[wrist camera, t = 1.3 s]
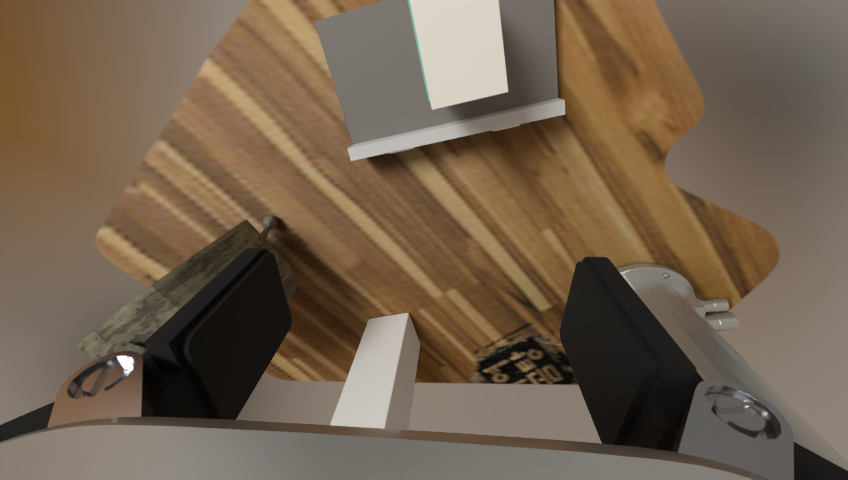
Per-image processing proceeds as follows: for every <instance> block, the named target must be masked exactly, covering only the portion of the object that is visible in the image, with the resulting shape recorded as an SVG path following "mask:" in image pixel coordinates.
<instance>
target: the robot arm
mask: <svg viewBox="0 0 848 480" xmlns="http://www.w3.org/2000/svg"><path fill="white" fill-rule="evenodd" d="M728 309H729V304H728V302H727V300H726V299H724V298H720V299H711V300H707V301H702V300H700V299H697V298H696V297H695V294H694V291H693V288H692V286H691V285H690V283H689V282H688V281H687V280H686V279H685V278H684V277H683V276H682V275H681V274H680V273H678V272H677V271H675V270H674V269H672V268H669V267H666V266H664V265H658V264H649V263H641V264H633V265H628V266H625V267H621V268H618V269H616V267H615V266H614V265H613V264H612V262H611V261H610V260H609V259H608V258H606V257H585V258H584V259H583V261H582V262H580V261H579V262H578V263H577V265H576V268H575V272H574V276H573V280H572V284H571V288H570V292H569V296H568V300H567V304H566V308H565V312H564V316H563V320H562V324H561V328H560V338H561V342H562V344H563V347H564V349H565V352H566V354H567V357H568V359H569V362H570V364H571V367H572V369H573V372H574V374H575V377H576V379H577V382H578V384H579V387H580V389H581V392H582V395H583V397H584V400H585V402H586V404H587V407H588V409H589V412H590V414H591V417H592V419H593V422H594V425H595V427H596V429H597V432H598V435H599V437H600V440H601V442H602V444H599V443H587V442H575V441H563V440H549V439H534V438H519V437H505V436H490V435H475V434H461V433H445V432H430V431H413V430H398V429H382V428H366V427H349V426H333V425H316V424H315V425H314V424H298V423H280V422H279V423H278V422H261V421H245V420H236V418H237V416H238V415H239V413H240V412H241V410H242V408H243V407H244V405H245V403H246V402H247V400H248V398H249V396H250V395H251V393H252V391H253V390H254V388H255V387H256V385H257V383H258V381H259V380H260V378H261V376H262V375H263V373H264V371H265V370H266V368H267V366H268V365H269V363H270V361H271V360H272V358H273V356H274V355H275V353H276V351H277V350H278V348H279V346H280V345H281V343H282V341H283V340H284V338H285V336H286V335H287V333H288V331H289V329H290V327H291V322H292V319H291V314H290V311H289V307H288V303H287V299H286V296H285V292H284V288H283V284H282V281H281V277H280V273H279V269H278V266H277V262H276V258H275V256H274V254H272V253H270V252H269V250H268V249H266V248H247V249H245V250H244V251H243V252H242V253H240V254H239V255H238V256H237V257H236V258H235V259H234V260H233V261H232V262H231V263H230V264H228V265H227V266H226V267H225V268H224V269H223V270H222V271H221V272H220V273H219V274H218V275H217V276H215V277H214V278H213V279H212V280H211V281H210V282H209V283H208V284H207V285H206V286H205V287H203V288H202V289H201V290H200V291H199V292H198V293H197V294H196V295H195V296H194V297H193V298H191V299H190V300H189V301H188V302H187V303H186V304H185V305H184V306H183V307H182V308H181V309H179V310H178V311H177V312H176V313H175V314H174V315H173V316H172V317H171V318H170V319H169V320H168V321H166V322H165V323H164V324H163V325H162V326H161V327H160V328H159V329H158V330H157V331H156V332H154V333H153V334H152V335H151V336H150V337H149V338H148V339H147V340H146V341H145V342H144V344H145V346H146V347H147V349H148V350H147V351H146V352H145V353H144V354H143V355H141V354H139V353H137V352H135V351H120V352H115V353H112V354H108V355H105V356H103V357H100V358H98V359H96V360H93V361H92V362H90V363H88V364H86V365H85V366H83V367H81V368H80V369H79V370H77V371H76V372H75V373H73V374H72V375H71V376H69V378H68V379H67V380H66V381H65V382H64V383H63V384H62V385H61V387H60V389H59V391H58V393H57V395H56V399H55V402H53V403H50V404H48V405H46V406H43V407H41V408H39V409H36V410H34V411H32V412H30V413H27V414H25V415H23V416H20V417H18V418H16V419H13V420H11V421H9V422H6V423H4V424H2V425H0V480H848V462H847V461H846V460H845V459H844V458H843V457H842V456H841V455H840V454H839V453H838V452H837V451H836V450H835V449H834V448H833V447H832V446H831V445H830V444H828V443H827V442H826V441H825V440H824V439H823V438H822V437H821V436H820V435H819V434H818V433H817V432H816V431H815V430H814V429H813V428H812V427H811V426H810V425H809V424H808V423H807V422H806V421H805V420H804V419H803V418H802V417H801V416H800V415H799V414H798V413H797V412H796V411H795V410H794V409H793V408H792V407H791V406H790V405H789V404H788V403H787V402H786V401H785V400H784V399H783V398H782V397H781V396H780V395H779V394H778V393H777V392H776V391H775V390H774V389H773V388H772V387H771V386H770V385H769V384H768V383H767V382H766V381H765V380H764V379H763V378H762V377H761V376H760V375H759V374H758V373H757V372H756V371H755V370H754V369H753V368H752V367H751V366H750V365H749V364H748V363H747V362H746V361H745V360H744V359H743V358H742V356H741V355H740V354H739V353H738V352H737V351H736V350H735V349H734V348H733V347H732V346H731V345H730V344H729V343H728V342H727V341H726V340H725V339H724V338H723V337H722V336H721V335H720V334H719V333H718V332H717V331H724V330H735V329H738V328H739V320H738V318H737V317H736V316H735V314H733V313H732V312H727V313H717V314H711V315H706V316H705V313H706V312H711V311H713V312H717V311H726V310H728ZM716 330H717V331H716Z"/></svg>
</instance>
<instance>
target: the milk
mask: <svg viewBox="0 0 848 480" xmlns="http://www.w3.org/2000/svg"><path fill="white" fill-rule="evenodd" d="M419 350H420V342H419V339H418V337H417V334H416V331H415V329H414V326H413V323H412V320H411V318H410V315H409V313H403V314H397V315H390V316H384V317H378V318H371V319H369V320H368V322H367V325H366V328H365V331H364V333H363V336H362V339H361V342H360V344H359V347H358V350H357V353H356V355H355V358H354V361H353V364H352V366H351V369H350V372H349V375H348V377H347V380H346V383H345V386H344V388H343V391H342V394H341V396H340V399H339V402H338V405H337V408H336V410H335V413H334V416H333V419H332V421H331V424H330V425H333V426H349V427H366V428H382V429H398V430H408V427H409V420H410V413H411V406H412V399H413V392H414V385H415V378H416V371H417V364H418V357H419Z"/></svg>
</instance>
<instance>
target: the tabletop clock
mask: <svg viewBox="0 0 848 480" xmlns="http://www.w3.org/2000/svg"><path fill="white" fill-rule="evenodd" d="M263 224H264V226H265V228H264V230H263V232H262V233H261V234H260V233H259V232H258V231H257V230H256V229H255V228H254V227H253V226H252V225H251V224H250V223H249V222H248V221H247V220H245V221H243V222H242V223H240V224H239V225H237V226H236V227H234V228H233V229H231V230H230V231H228V232H227V233H225V234H224V235H223V236H221V237H220V238H218V239H217V240H215V241H214V242H212V243H211V244H210V245H208V246H207V247H205V248H204V249H202V250H201V251H200V252H198V253H197V254H195V255H194V256H192V257H191V258H190V259H188V260H187V261H185V262H184V263H182V264H181V265H180V266H178V267H177V268H175V269H174V270H173V271H171V272H170V273H168V274H167V275H166V276H164V277H163V278H161V279H160V280H159V281H157V282H156V283H154V284H153V285H152V286H150V287H149V288H148V289H146V290H145V291H144V292H142V293H141V294H140V295H138V296H137V297H136V298H135V299H133V300H132V301H131V302H129V303H128V304H127V305H125V306H124V307H123V308H122V309H120V310H119V311H118V312H117V313H115V314H114V315H113V316H112V317H110V318H109V319H108V320H107V321H105V322H104V323H103V324H101V325H100V326H99V327H98V328H96V329H95V330H94V331H93V332H91V333H90V334H89V335H88V336H86V337H85V338H84V339H83V340H82V341H80V342H79V343H78V344H77V345H76V347H77V348H79V349H80V350H82V351H83V352H84V353H86V354H87V355H89V356H90V357H92V358H93V359H94V360H96V359H98V358H100V357H103V356H105V355H108V354H112V353H115V352H120V351H135V352H137V353H139V354H141V355H143V354H144V353H145V352H146V351H147V350H148V349H147V347H146V346H145V344H144V342H145V341H146V340H147V339H148V338H149V337H150V336H151V335H152V334H153V333H154V332H156V331H157V330H158V329H159V328H160V327H161V326H162V325H163V324H164V323H165V322H166V321H168V320H169V319H170V318H171V317H172V316H173V315H174V314H175V313H176V312H177V311H178V310H179V309H181V308H182V307H183V306H184V305H185V304H186V303H187V302H188V301H189V300H190V299H191V298H193V297H194V296H195V295H196V294H197V293H198V292H199V291H200V290H201V289H202V288H203V287H205V286H206V285H207V284H208V283H209V282H210V281H211V280H212V279H213V278H214V277H215V276H217V275H218V274H219V273H220V272H221V271H222V270H223V269H224V268H225V267H226V266H227V265H228V264H230V263H231V262H232V261H233V260H234V259H235V258H236V257H237V256H238V255H239V254H240V253H242V252H243V251H244V250H245V249H247V248H266V249H268V250H269V252H270V253H272V254H274V256H275V258H276V262H277V266H278V269H279V273H280V277H281V281H282V284H283V288H284V292H285V296H286V299H287V302H288V301H289V299H290V298H291V297H292V295H293V293H294V292H295V290H296V288H297V282H296V278H295V273H294V268H293V267H292V266H291V265H290V264H289V263H288V262H287V261H286V260H285V259H284V258H283V257H282V256H281V255H280V254H279V253H278V252H277V251H276V250H275V249H274V248H273V247H272V246H271V245H270V243H269V242H268V241H267V240H266V238H267V235H268V232H269V230H270V229H273V228H275V227H276V226H277V224H278V221H277V218H276V217H274V216H270V215H269V216H266V217H265V219H264V220H263Z"/></svg>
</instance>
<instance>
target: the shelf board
mask: <svg viewBox="0 0 848 480" xmlns="http://www.w3.org/2000/svg"><path fill="white" fill-rule="evenodd" d="M499 9H500V18H501V28H502V37H503V47H504V56H505V66H506V75H507V84H508V92H506V93H501V94H497V95H493V96H489V97H485V98H480V99H476V100H472V101H468V102H463V103H459V104H455V105H451V106H447V107H442V108H438V109H434V110H432V108H431V103H430V101H429V102H428V98H427V93H426V88H425V83H424V78H423V73H422V69H421V64H420V59H419V54H418V49H417V44H416V39H415V35H414V30H413V25H412V20H411V15H410V10H409V5H408V1H407V0H383V1H380V2H377V3H373V4H370V5H367V6H364V7H360V8H357V9H354V10H351V11H348V12H344V13H341V14H338V15H335V16H331V17H328V18H325V19H322V20H318V21H315V25H316V28H317V32H318V35H319V38H320V41H321V44H322V47H323V51H324V54H325V57H326V60H327V63H328V66H329V70H330V73H331V76H332V79H333V82H334V85H335V89H336V92H337V95H338V98H339V101H340V104H341V108H342V111H343V114H344V117H345V120H346V123H347V127H348V130H349V133H350V136H351V139H352V142H353V145H352V146H351V147H349V148H348V152H349V156H350V159H351V161H353V160H358V159H362V158H367V157H372V156H376V155H381V154H385V153H389V154H392V153H397V152H401V151H406V150H411V149H413V148H414V147H418V146H422V145H427V144H432V143H436V142H441V141H445V140H450V139H455V138H459V137H464V136H468V135H473V134H478V133H482V132H487V131H491V130H492V131H493V132H494V131H498V130H503V129H508V128H512V127H517V126H520V124H524V123H528V122H533V121H537V120H542V119H547V118H551V117H556V116H560V115H565V100H563V99H560V98H558V80H557V58H556V35H555V13H554V0H499Z"/></svg>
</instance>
